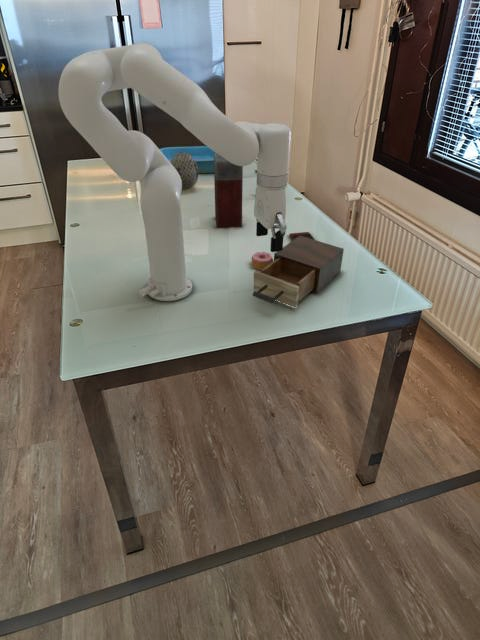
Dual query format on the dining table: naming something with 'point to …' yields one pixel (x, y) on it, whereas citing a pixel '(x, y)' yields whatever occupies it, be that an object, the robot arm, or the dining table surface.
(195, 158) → the casserole dish
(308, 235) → the smartphone
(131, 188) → the dining table surface
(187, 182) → the decorative egg
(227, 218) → the toy vending machine
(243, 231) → the dining table surface
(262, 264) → the donut
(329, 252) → the cabinet
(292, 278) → the drawer
